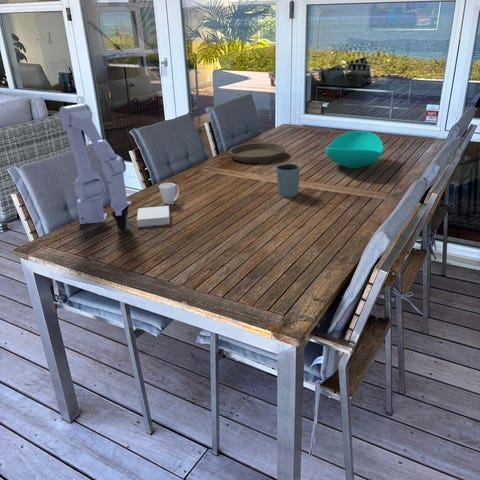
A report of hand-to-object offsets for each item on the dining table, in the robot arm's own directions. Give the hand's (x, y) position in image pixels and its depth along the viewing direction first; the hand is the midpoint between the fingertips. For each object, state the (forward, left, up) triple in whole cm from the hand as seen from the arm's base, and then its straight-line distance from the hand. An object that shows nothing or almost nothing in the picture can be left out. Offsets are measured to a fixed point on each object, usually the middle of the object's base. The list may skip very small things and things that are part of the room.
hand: (123, 226), depth 176 cm
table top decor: (+109, +55, -2) cm, 122 cm away
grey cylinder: (0, 0, -2) cm, 2 cm away
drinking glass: (+68, +24, -2) cm, 72 cm away
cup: (+18, +26, -2) cm, 32 cm away
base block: (+11, +8, -2) cm, 14 cm away
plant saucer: (+66, +87, -2) cm, 109 cm away
